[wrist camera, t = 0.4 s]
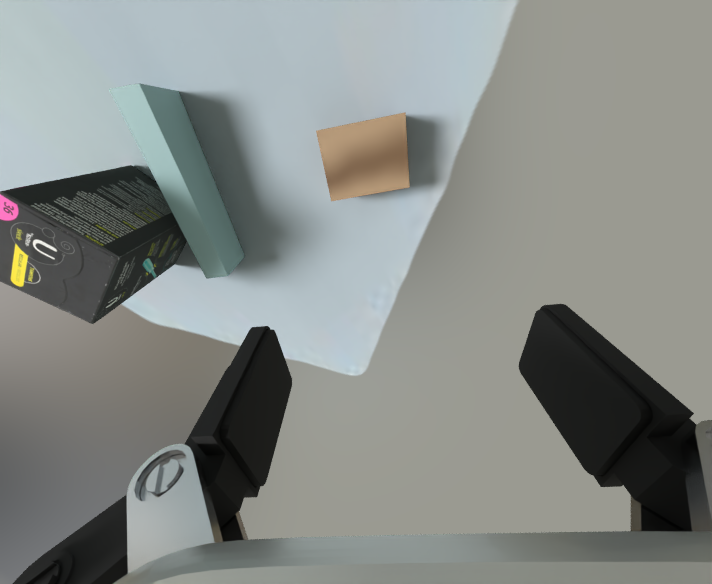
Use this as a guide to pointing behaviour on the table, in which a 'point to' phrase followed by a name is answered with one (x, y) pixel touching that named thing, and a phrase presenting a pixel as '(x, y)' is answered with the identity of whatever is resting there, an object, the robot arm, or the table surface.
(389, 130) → the block
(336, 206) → the table surface
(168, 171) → the board
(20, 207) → the tampon box
